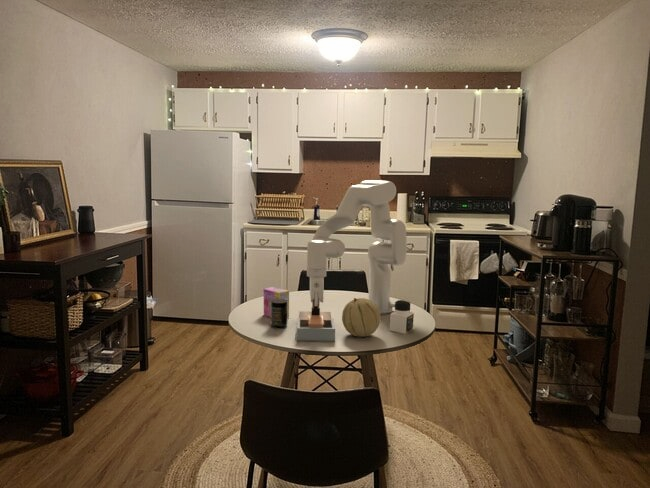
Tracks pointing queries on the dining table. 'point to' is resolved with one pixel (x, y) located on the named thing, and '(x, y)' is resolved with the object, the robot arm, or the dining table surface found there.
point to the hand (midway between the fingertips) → (315, 318)
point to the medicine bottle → (401, 317)
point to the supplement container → (279, 313)
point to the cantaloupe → (361, 317)
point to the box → (274, 294)
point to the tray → (315, 333)
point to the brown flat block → (305, 315)
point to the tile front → (316, 323)
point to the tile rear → (314, 317)
